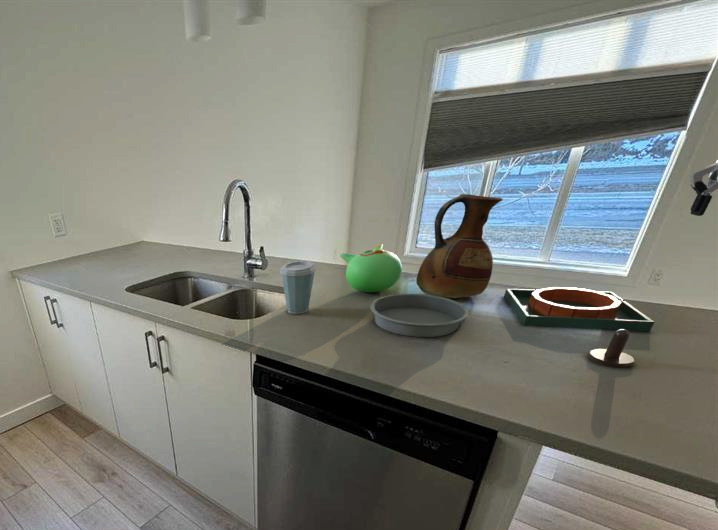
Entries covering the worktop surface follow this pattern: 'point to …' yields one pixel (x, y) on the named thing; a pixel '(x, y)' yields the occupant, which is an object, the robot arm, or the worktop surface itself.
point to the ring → (603, 301)
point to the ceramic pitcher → (459, 253)
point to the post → (614, 352)
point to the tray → (624, 318)
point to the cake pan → (418, 314)
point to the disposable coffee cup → (298, 285)
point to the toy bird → (372, 269)
